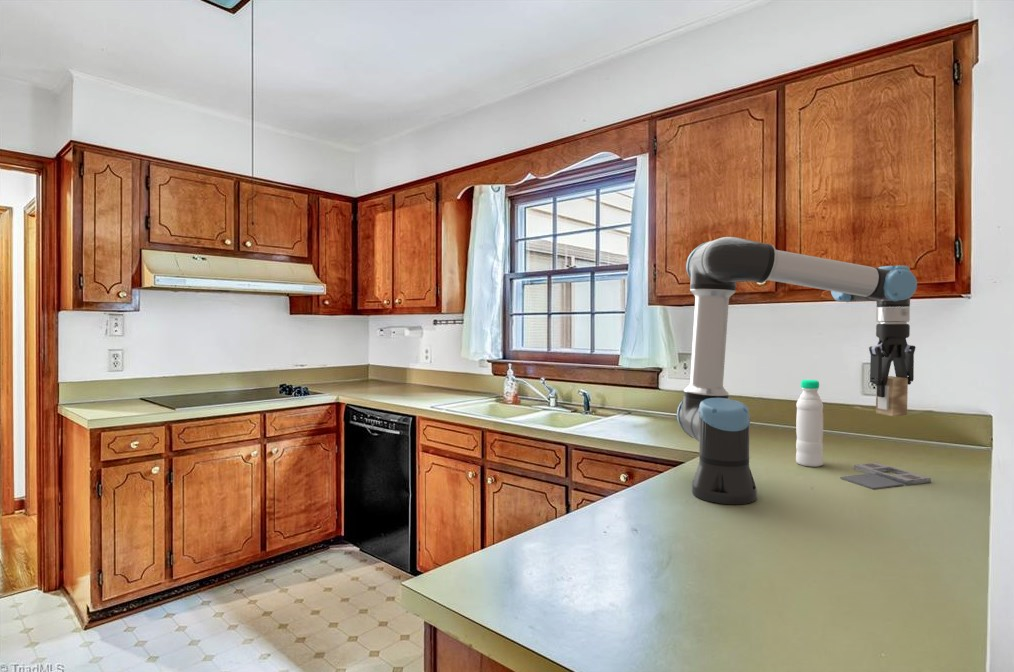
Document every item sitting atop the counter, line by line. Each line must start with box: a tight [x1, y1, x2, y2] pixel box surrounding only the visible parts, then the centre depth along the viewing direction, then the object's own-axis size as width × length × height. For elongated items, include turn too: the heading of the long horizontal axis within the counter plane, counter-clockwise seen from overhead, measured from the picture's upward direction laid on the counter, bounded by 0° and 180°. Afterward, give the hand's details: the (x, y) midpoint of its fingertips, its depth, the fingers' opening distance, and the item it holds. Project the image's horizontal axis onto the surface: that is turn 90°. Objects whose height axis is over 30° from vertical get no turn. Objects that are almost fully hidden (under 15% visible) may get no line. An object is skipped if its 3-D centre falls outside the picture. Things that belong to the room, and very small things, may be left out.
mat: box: [840, 473, 905, 490], centre depth 150 cm, size 10×10×1 cm
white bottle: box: [795, 379, 824, 468], centre depth 167 cm, size 7×7×25 cm
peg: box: [875, 375, 909, 417], centre depth 155 cm, size 5×5×10 cm
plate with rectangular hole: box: [853, 462, 932, 486], centre depth 156 cm, size 8×16×1 cm, turn 15°
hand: (891, 408), depth 155 cm, fingers closed on peg, 5 cm apart
